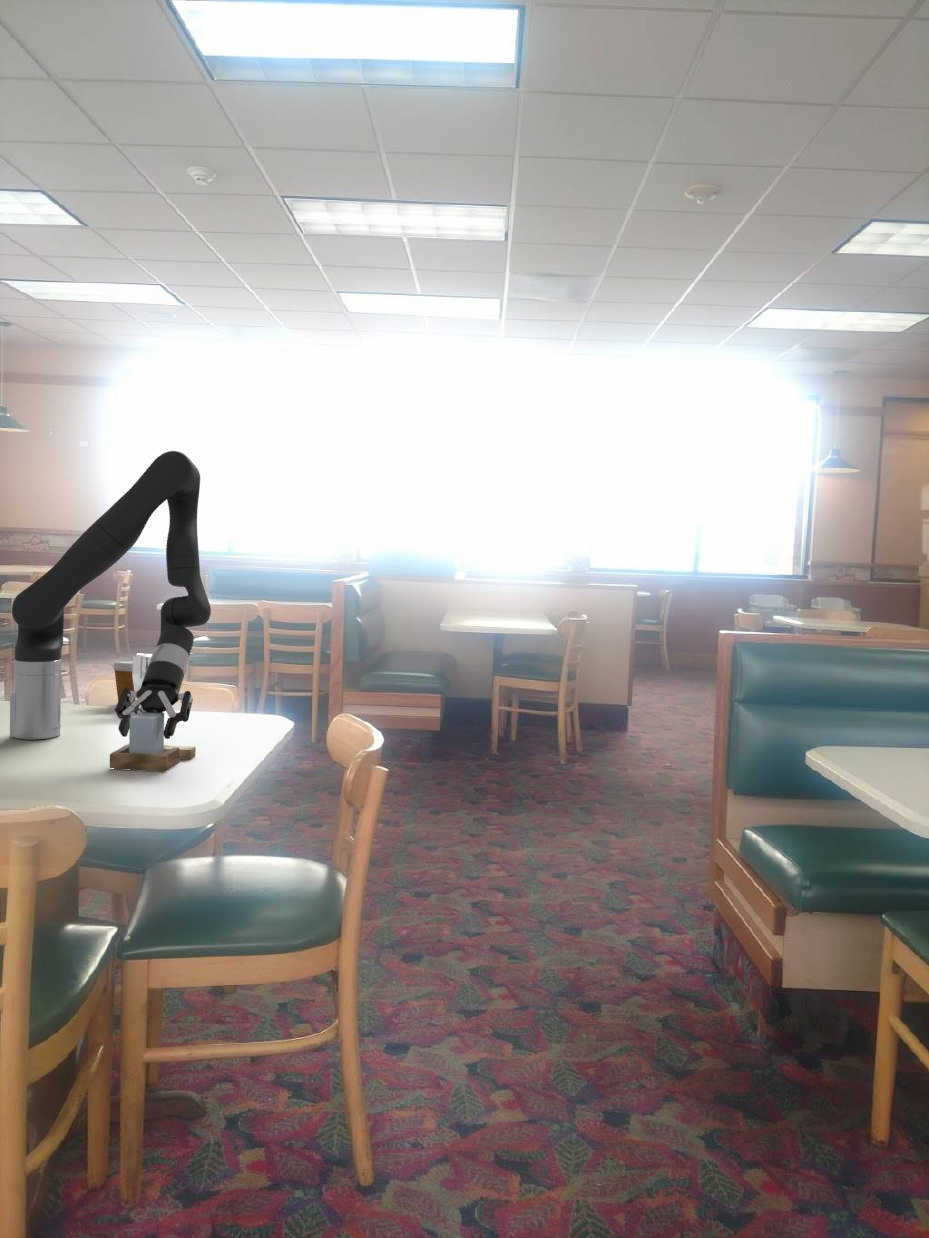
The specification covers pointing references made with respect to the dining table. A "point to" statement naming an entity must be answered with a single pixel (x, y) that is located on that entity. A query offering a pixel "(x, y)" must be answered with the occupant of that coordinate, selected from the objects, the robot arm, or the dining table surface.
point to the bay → (143, 760)
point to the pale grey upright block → (147, 733)
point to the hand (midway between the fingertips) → (144, 735)
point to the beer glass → (139, 669)
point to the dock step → (182, 751)
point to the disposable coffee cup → (123, 676)
